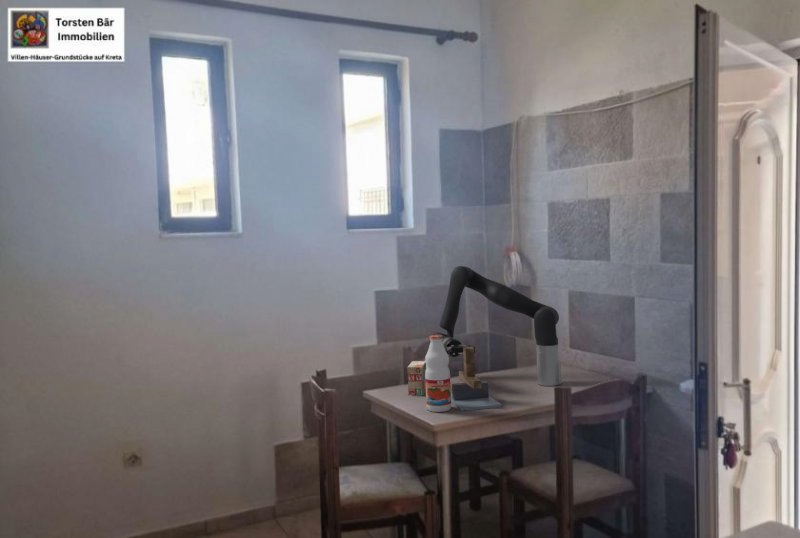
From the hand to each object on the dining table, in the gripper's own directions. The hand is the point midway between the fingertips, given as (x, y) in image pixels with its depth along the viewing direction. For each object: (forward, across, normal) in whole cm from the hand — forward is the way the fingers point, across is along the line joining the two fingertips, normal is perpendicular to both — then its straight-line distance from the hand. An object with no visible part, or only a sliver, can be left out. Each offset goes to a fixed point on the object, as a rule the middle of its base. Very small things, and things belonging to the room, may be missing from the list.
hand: (462, 352), depth 254 cm
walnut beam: (+9, 0, +10) cm, 14 cm away
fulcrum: (+9, 0, +18) cm, 20 cm away
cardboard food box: (-17, -15, +18) cm, 29 cm away
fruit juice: (+17, -15, +18) cm, 29 cm away
